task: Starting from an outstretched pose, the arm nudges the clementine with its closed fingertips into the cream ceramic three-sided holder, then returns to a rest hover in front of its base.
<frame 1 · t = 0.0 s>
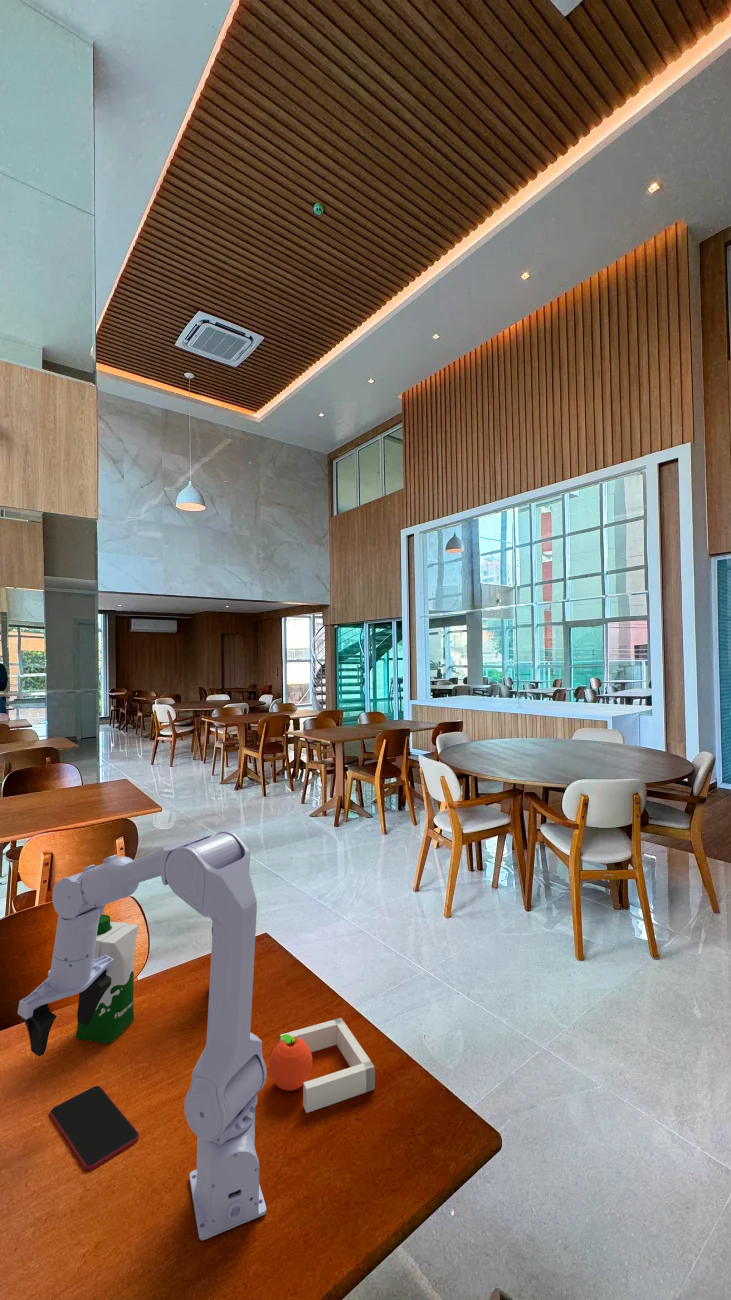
hand: (61, 1037, 84), 11 cm above the table, tool pointing down, fingers open, 7 cm apart
smartphone: (93, 1129, 80), on the table
clementine: (289, 1084, 89), on the table
cola bottle: (231, 989, 116), on the table
milk carton: (105, 1030, 102), on the table
holder: (325, 1071, 91), on the table
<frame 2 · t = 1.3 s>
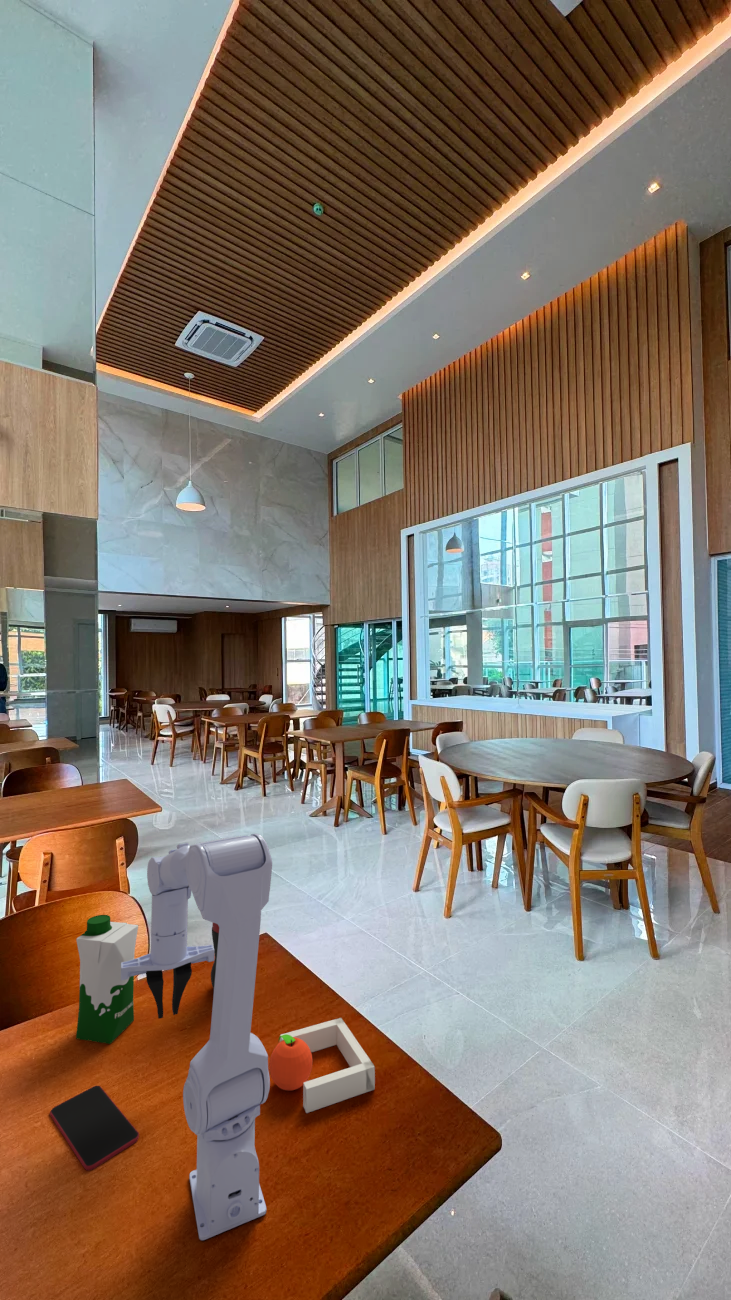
hand: (167, 1013, 90), 10 cm above the table, tool pointing down, fingers closed
nothing on the table moved.
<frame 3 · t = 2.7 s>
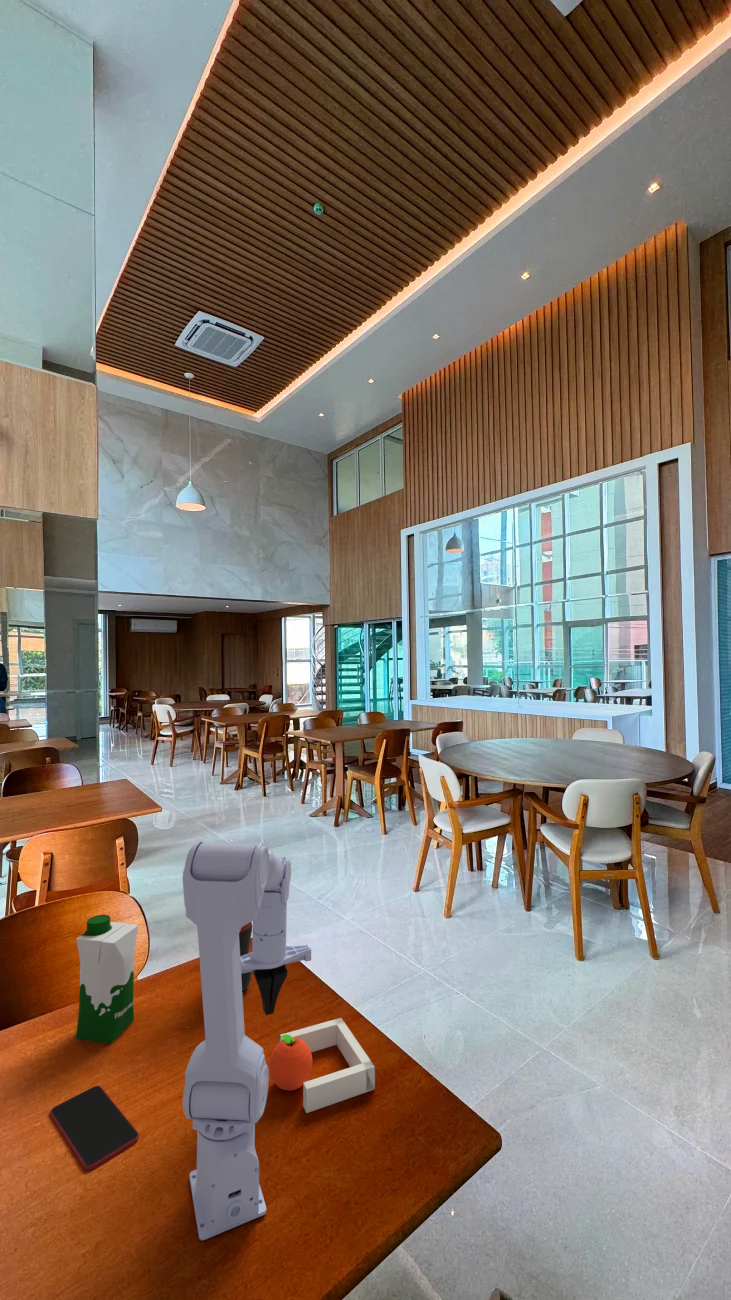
hand: (268, 1011, 93), 9 cm above the table, tool pointing down, fingers closed
nothing on the table moved.
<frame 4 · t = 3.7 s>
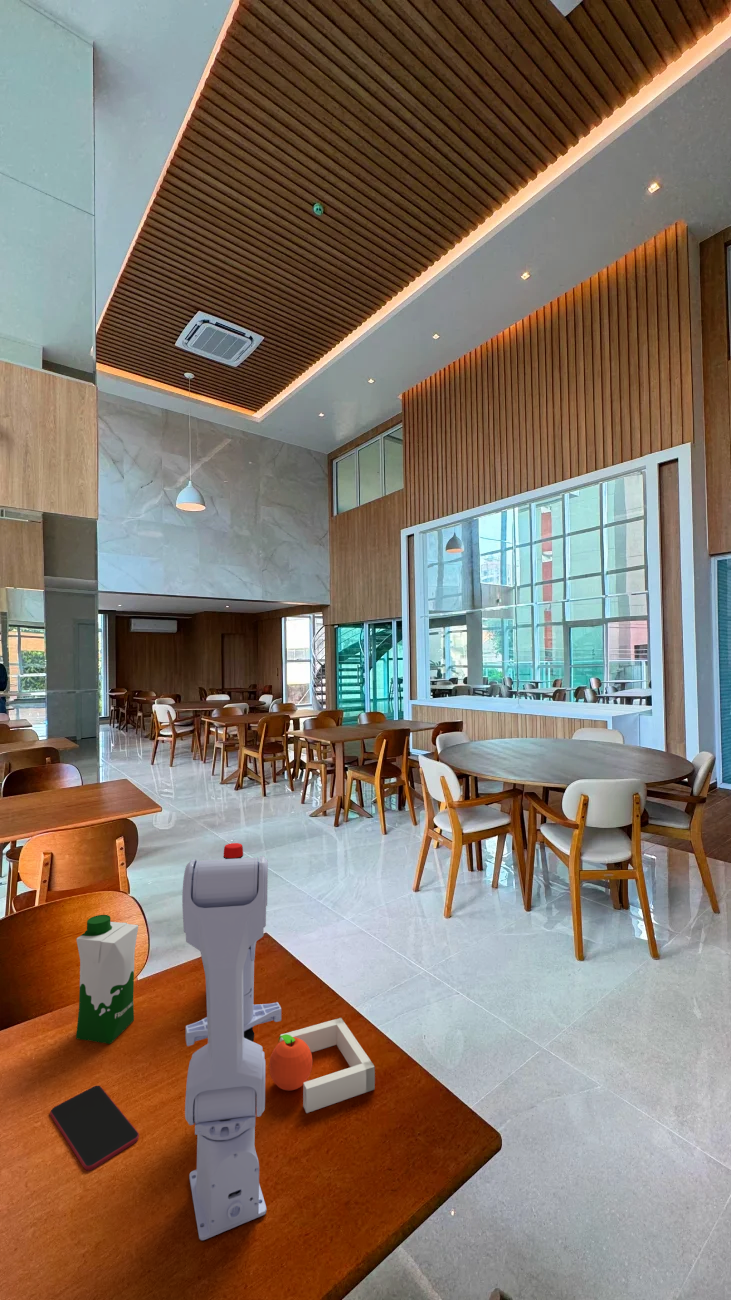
hand: (233, 1077, 85), 3 cm above the table, tool pointing down, fingers closed
nothing on the table moved.
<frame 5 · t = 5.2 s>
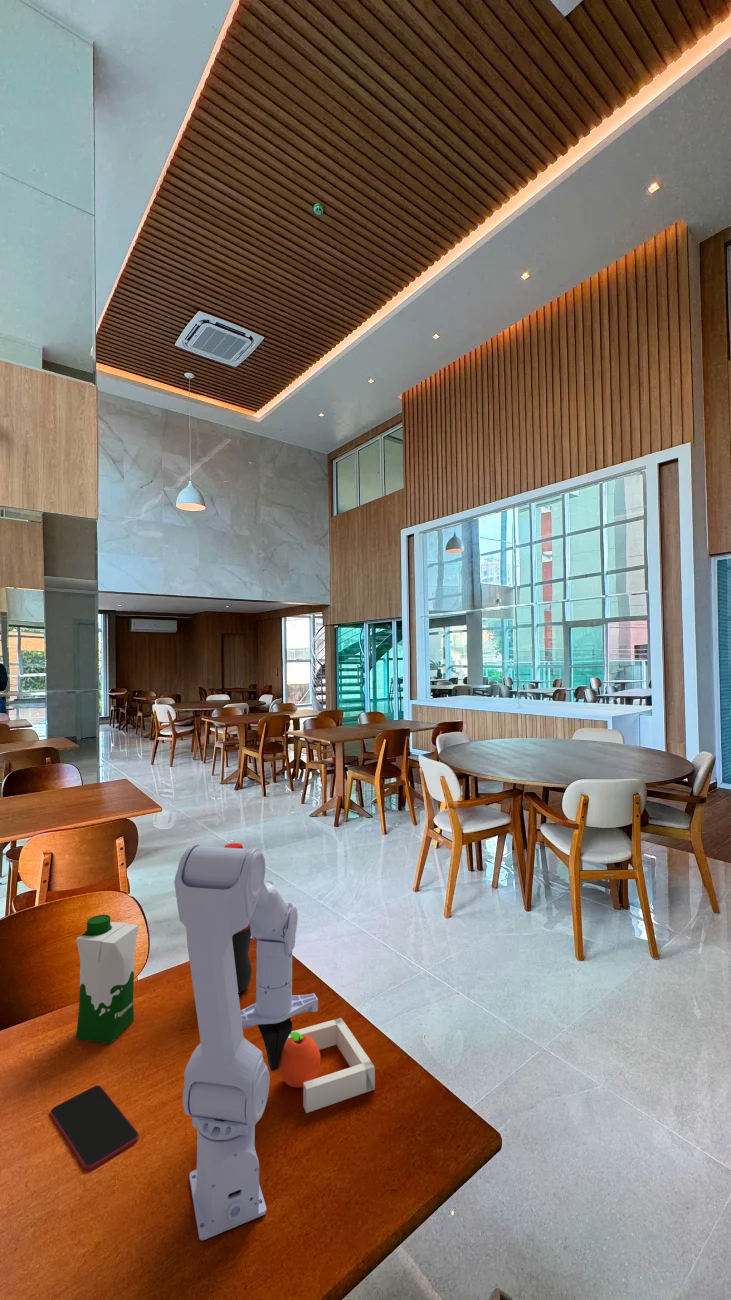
hand: (273, 1066, 88), 3 cm above the table, tool pointing down, fingers closed
clementine: (297, 1081, 89), on the table, touching gripper
everything else where it was.
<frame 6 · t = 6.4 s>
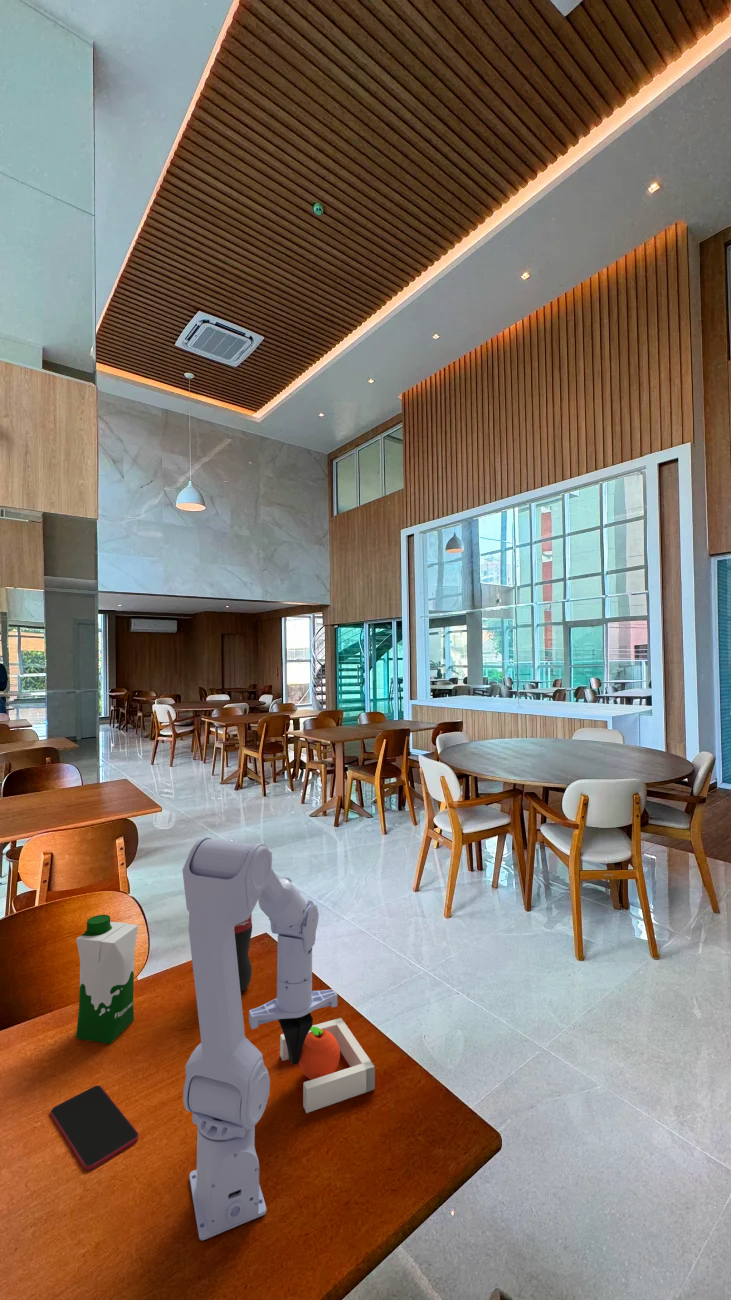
hand: (293, 1060, 89), 3 cm above the table, tool pointing down, fingers closed
clementine: (317, 1075, 91), on the table, touching gripper
everything else where it was.
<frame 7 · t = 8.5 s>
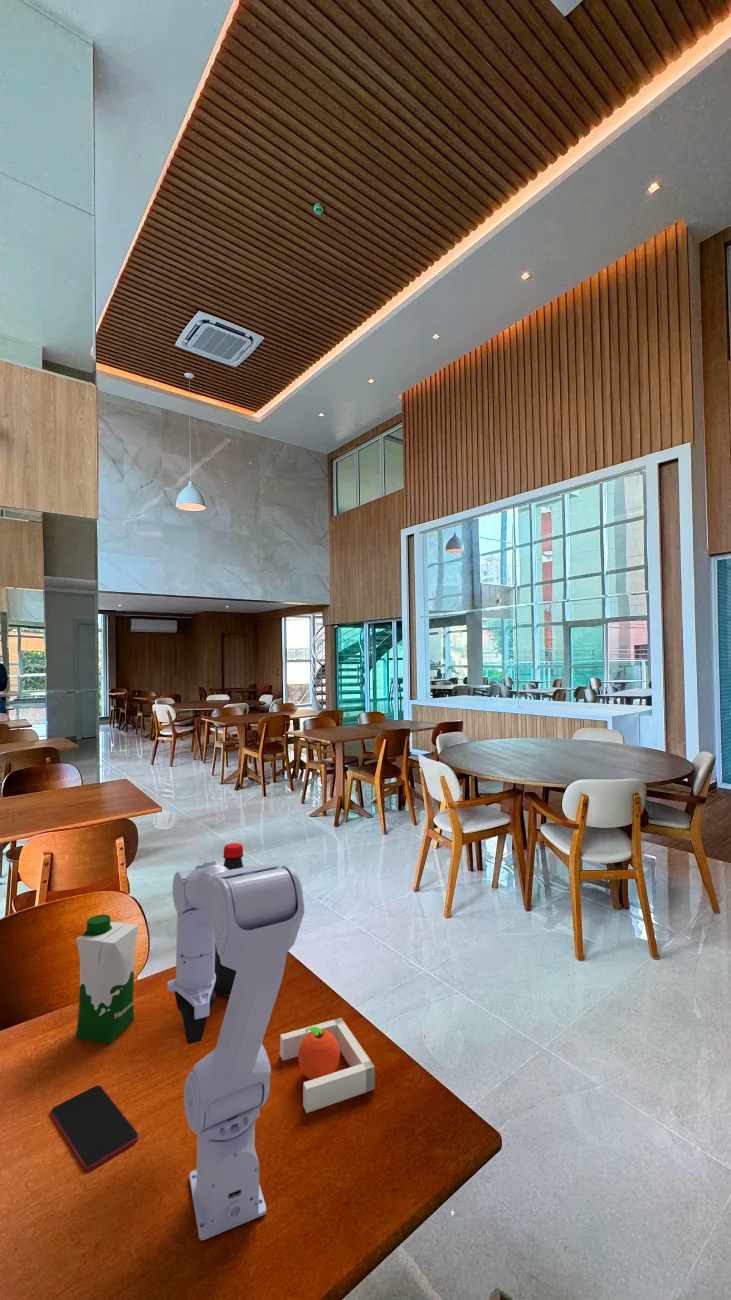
hand: (194, 1040, 84), 10 cm above the table, tool pointing down, fingers closed
clementine: (317, 1075, 91), on the table
everything else where it was.
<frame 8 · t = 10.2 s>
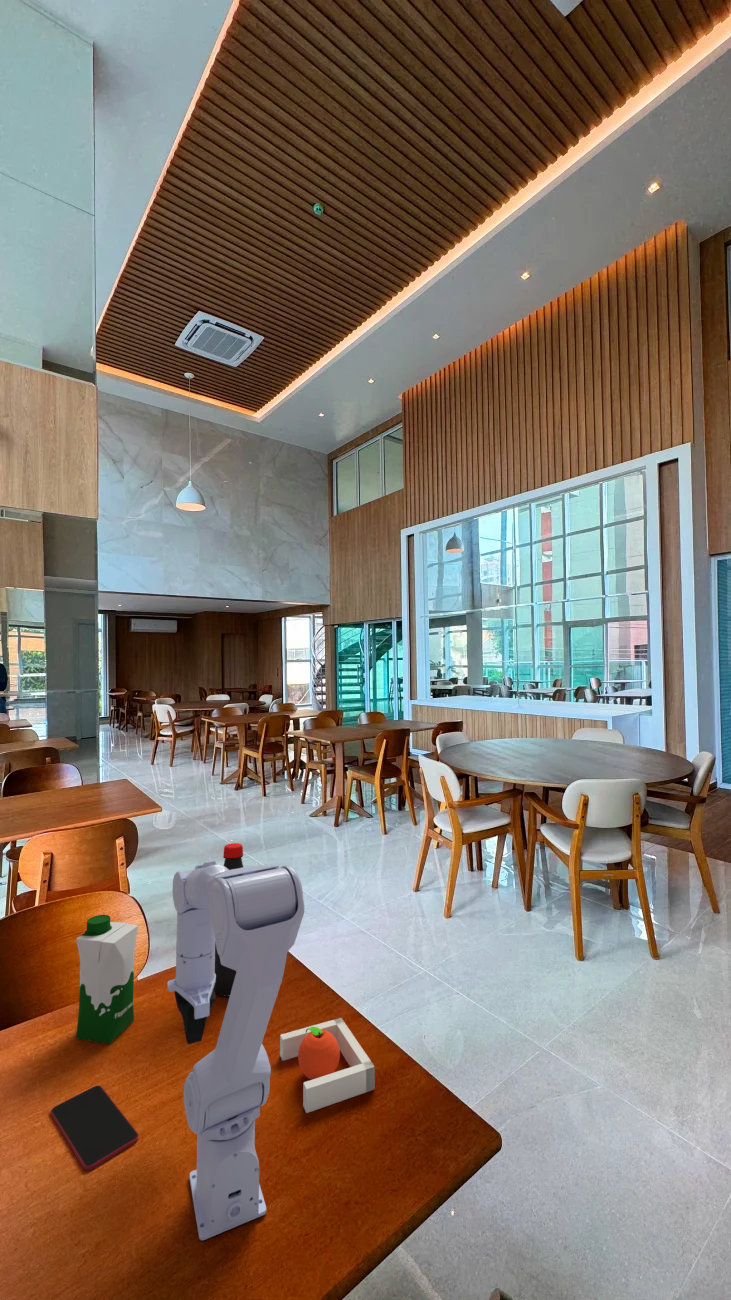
hand: (193, 1040, 84), 10 cm above the table, tool pointing down, fingers closed
nothing on the table moved.
at the end: clementine inside the target area on the holder (2.4 cm from its centre), point 0.0 cm above the holder's base; clementine moved 4.8 cm from its start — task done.
